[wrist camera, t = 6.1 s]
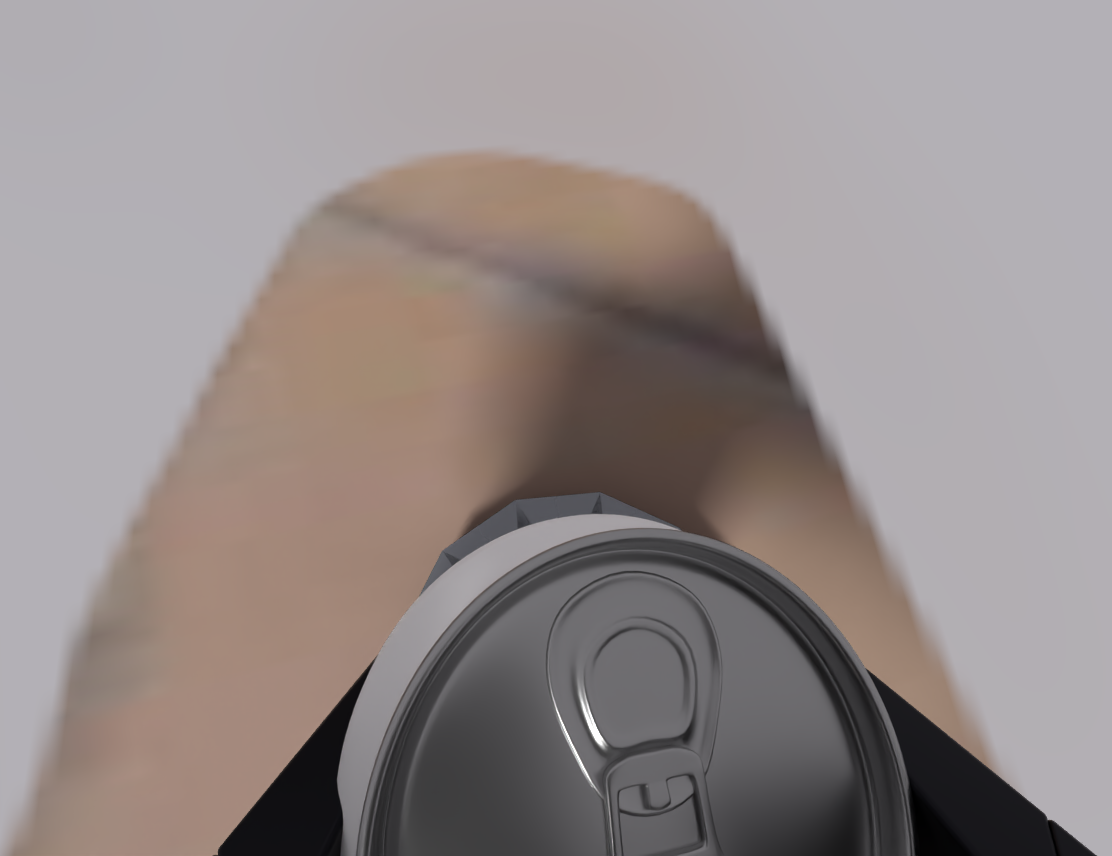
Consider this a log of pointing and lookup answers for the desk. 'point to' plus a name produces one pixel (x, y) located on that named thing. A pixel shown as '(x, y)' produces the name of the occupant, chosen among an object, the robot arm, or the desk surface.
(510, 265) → the desk surface
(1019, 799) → the robot arm
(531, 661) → the can
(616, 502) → the collar
